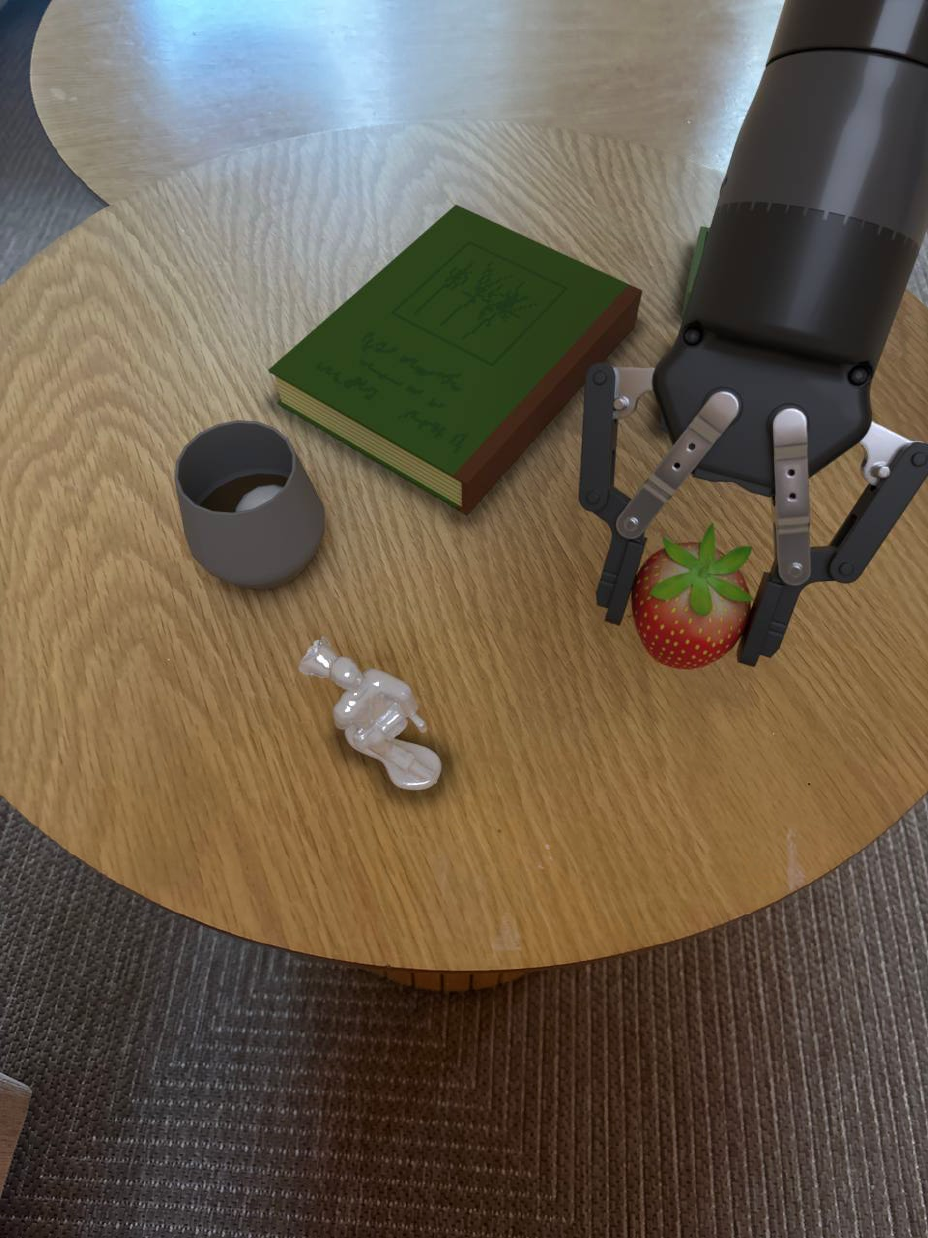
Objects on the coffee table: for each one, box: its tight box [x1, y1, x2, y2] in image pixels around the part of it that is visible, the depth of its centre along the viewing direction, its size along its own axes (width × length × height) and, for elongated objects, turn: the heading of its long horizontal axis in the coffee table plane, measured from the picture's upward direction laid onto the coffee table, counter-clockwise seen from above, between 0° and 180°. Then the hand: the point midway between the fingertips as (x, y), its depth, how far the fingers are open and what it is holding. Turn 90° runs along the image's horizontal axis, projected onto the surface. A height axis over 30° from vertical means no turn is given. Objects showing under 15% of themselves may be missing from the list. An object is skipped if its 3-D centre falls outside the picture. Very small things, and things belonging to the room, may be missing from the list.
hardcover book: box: [268, 204, 643, 516], centre depth 71 cm, size 25×19×4 cm
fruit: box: [630, 522, 755, 671], centre depth 39 cm, size 5×5×8 cm
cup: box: [173, 419, 326, 591], centre depth 59 cm, size 10×9×10 cm
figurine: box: [297, 635, 443, 791], centre depth 51 cm, size 5×9×12 cm, turn 63°
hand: (679, 638), depth 38 cm, fingers closed on fruit, 5 cm apart
